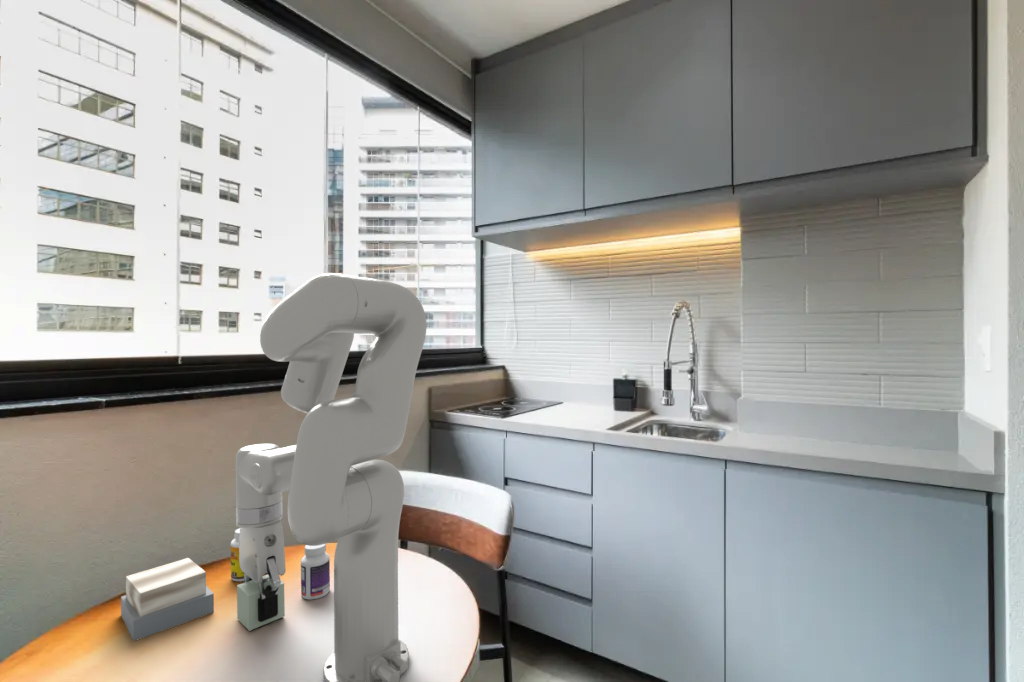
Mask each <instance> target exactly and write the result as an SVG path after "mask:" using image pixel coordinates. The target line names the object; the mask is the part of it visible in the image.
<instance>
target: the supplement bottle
mask: <svg viewBox="0 0 1024 682" xmlns="http://www.w3.org/2000/svg"><path fill="white" fill-rule="evenodd" d="M239 539H240V527H238V528H237V529H235V530H234V538H233V539H232V540H231V541H230V579H231V580H232V581H233V582H234V581H235V582H239V583H241V582H244V573H243V571H242V570H241V568H240V561H239Z"/></svg>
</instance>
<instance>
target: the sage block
mask: <svg viewBox="0 0 1024 682" xmlns="http://www.w3.org/2000/svg"><path fill="white" fill-rule="evenodd" d="M266 578H269V575H268V574H267V575H265V576H262V579H266ZM269 583H270V581H268V582H266V583H264V589H265V588H266V587H267V586H268V585H269ZM259 598H260V593H259V586H258V583H257V582H255V581H254V580H251V581H248V582H245V583H244V582H243V583H240V584H237V585H236V609H237V610H236V613H237V615H236V618H237V620H238V621H239V622H240V623H241V624H242V625H243V626H244V627H245V628H246V629H247V630H248V631H249V632H250V631H252V630H254V629H257V628H259V627H262V626H264V625H267V624H269V623H271V622H273V621H277V620H278V619H281V618H283V617H285V613H286V612H285V609H286V608H285V582H284V581H282V580H281V584H280V585H279V588H278V614H277V616H275V617H272V618H270V619H267V620H265V621H262V622H259V621H258V599H259Z"/></svg>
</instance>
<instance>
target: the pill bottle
mask: <svg viewBox="0 0 1024 682" xmlns="http://www.w3.org/2000/svg"><path fill="white" fill-rule="evenodd" d="M326 551H327V543H326V544H323V545H318V546H309V545H305V546H304V556H303V557H302V558H301V561H300V594H301V597H302V599H304V600H310V601H311V600H317V599H321V598H323V597H325V596H326V595H327V594H329V592H330V588H331V584H330V583H331V577H330V572H331V570H330V569H331V568H330V566H331V565H330V563H331V562H330V560H331V559H330V554H329V553H327V552H326Z"/></svg>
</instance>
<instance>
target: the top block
mask: <svg viewBox="0 0 1024 682" xmlns="http://www.w3.org/2000/svg"><path fill="white" fill-rule="evenodd" d="M206 586H207V571H205V570H204V569H203V568H202V567H201V566H200V565H198V564H197V563H195V562H194V561H193V560H192V559H191V558H189V557H186V558H182V559H179V560H175V561H173V562H170V563H166V564H163V565H159V566H156V567H153V568H150V569H146V570H141V571H138V572H135V573H133V574H129V575H126V576H125V595H126V599H127V600H128V601H129V603H130V604H131V605H132V606H133V608H134V609H135V610H136V612H137V613H138V614H139V615H140V617H141V616H144V615H147V614H150V613H152V612H155V611H158V610H161V609H164V608H166V607H169V606H172V605H175V604H178V603H180V602H183V601H186V600H189V599H191V598H194V597H197V596H200V595H203V594H205V593H206Z"/></svg>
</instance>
